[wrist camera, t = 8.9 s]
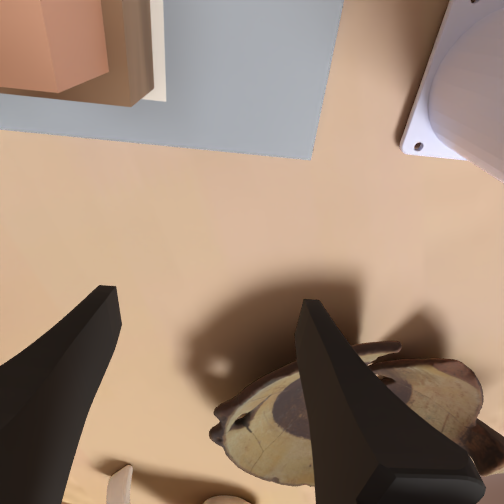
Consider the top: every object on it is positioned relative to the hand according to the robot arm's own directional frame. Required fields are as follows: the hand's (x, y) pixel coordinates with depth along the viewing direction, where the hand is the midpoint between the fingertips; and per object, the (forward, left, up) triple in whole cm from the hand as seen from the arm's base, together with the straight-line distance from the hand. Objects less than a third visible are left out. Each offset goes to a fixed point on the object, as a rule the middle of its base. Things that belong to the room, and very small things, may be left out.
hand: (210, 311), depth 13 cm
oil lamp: (-15, +21, -11) cm, 28 cm away
